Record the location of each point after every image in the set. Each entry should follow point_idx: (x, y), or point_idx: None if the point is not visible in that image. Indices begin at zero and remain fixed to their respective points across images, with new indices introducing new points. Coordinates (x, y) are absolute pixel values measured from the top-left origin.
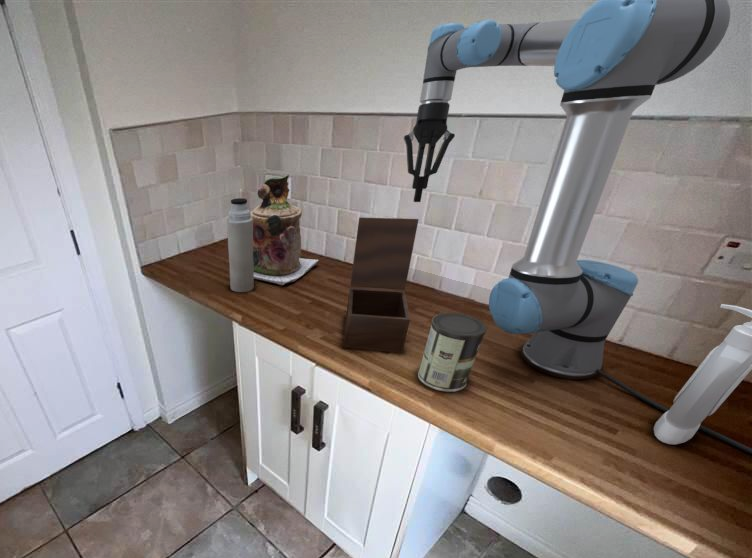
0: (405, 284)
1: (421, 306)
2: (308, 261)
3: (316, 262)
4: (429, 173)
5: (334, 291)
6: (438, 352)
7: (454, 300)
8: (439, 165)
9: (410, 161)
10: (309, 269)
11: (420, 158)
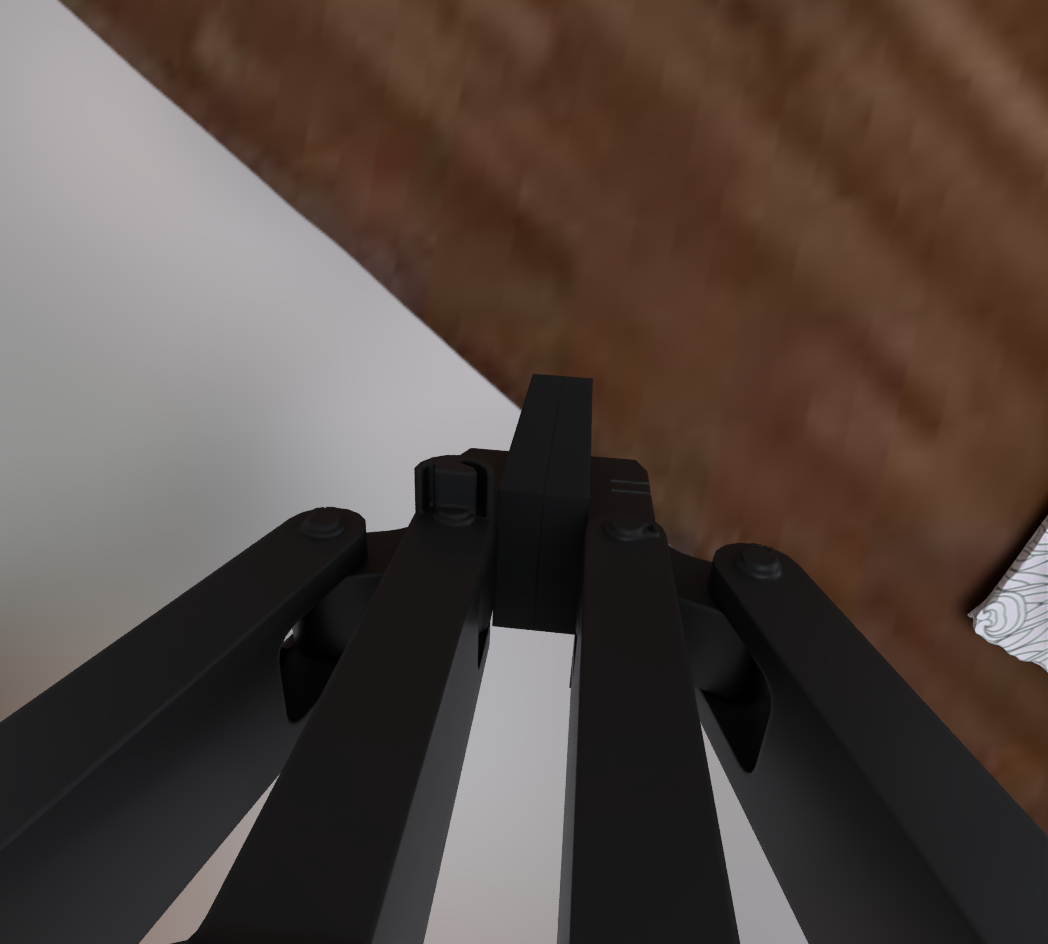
0: None
1: (510, 89)
2: (1031, 618)
3: (987, 602)
4: (422, 513)
5: (939, 258)
6: None
7: (340, 184)
8: (215, 575)
9: (876, 703)
10: (1032, 536)
11: (639, 727)
